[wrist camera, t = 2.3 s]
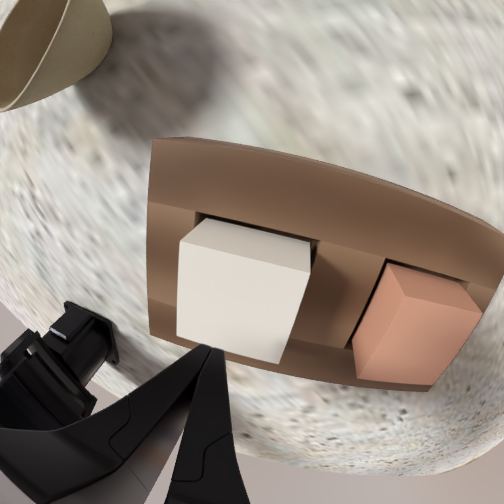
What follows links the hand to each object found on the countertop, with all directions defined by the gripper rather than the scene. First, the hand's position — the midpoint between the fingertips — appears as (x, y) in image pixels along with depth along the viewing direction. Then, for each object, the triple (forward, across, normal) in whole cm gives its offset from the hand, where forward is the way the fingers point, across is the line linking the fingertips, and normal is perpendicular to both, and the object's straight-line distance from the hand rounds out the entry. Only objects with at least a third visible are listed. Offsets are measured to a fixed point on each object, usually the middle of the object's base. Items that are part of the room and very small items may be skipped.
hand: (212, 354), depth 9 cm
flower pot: (+9, +15, -13) cm, 22 cm away
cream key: (+6, 0, 0) cm, 6 cm away
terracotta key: (+6, -9, 0) cm, 11 cm away
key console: (+9, -5, 0) cm, 10 cm away
